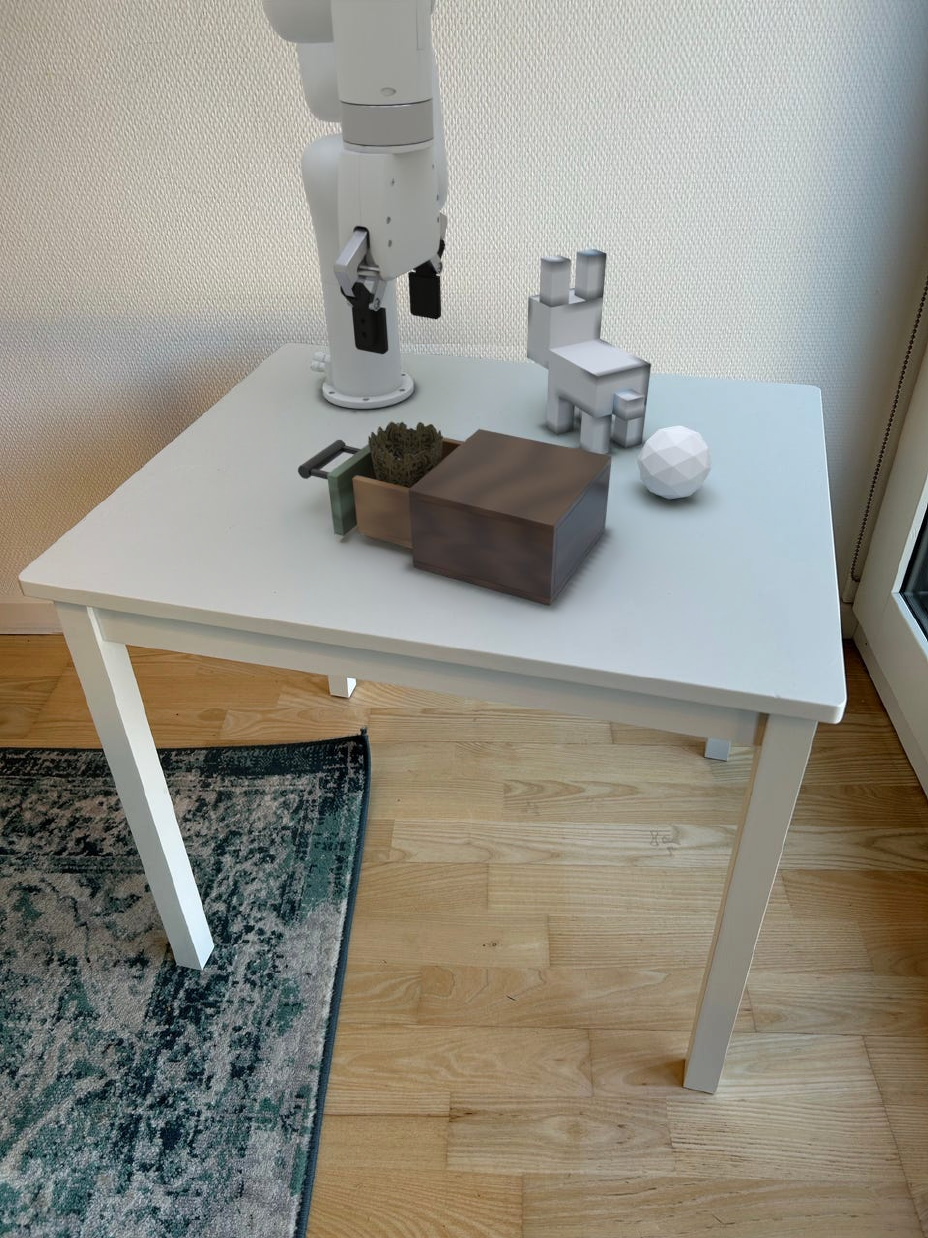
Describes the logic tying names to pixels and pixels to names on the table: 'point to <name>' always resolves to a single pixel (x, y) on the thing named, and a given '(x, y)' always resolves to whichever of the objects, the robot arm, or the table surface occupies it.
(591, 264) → the toy llama
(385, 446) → the cup
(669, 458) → the geometric ball
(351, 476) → the drawer
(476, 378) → the table surface
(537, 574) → the cabinet
